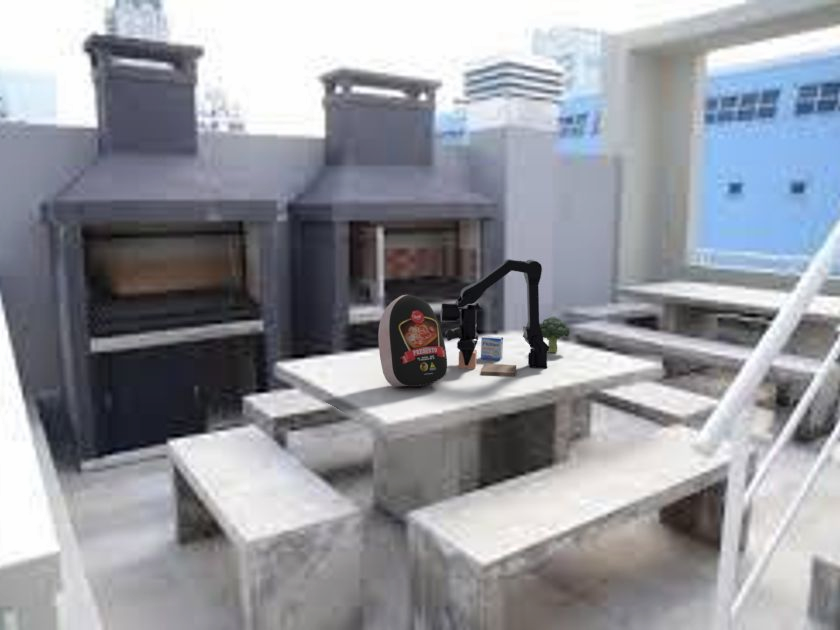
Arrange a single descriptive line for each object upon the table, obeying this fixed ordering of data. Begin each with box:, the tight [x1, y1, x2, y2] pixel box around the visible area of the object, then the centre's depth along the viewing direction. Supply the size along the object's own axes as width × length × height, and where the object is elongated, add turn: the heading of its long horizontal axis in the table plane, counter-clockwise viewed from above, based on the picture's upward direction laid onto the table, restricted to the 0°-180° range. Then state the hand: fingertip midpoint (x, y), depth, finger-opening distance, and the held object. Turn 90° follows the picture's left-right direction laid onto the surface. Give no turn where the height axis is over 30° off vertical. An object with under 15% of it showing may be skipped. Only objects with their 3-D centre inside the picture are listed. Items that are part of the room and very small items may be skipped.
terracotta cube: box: [458, 349, 478, 370], centre depth 255 cm, size 6×6×6 cm
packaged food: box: [377, 294, 448, 387], centre depth 227 cm, size 22×20×30 cm
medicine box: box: [480, 335, 504, 361], centre depth 268 cm, size 8×4×9 cm, turn 73°
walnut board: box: [481, 363, 517, 377], centre depth 248 cm, size 12×12×1 cm
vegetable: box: [540, 316, 571, 353], centre depth 279 cm, size 12×13×15 cm
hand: (467, 362), depth 255 cm, fingers open, 8 cm apart
